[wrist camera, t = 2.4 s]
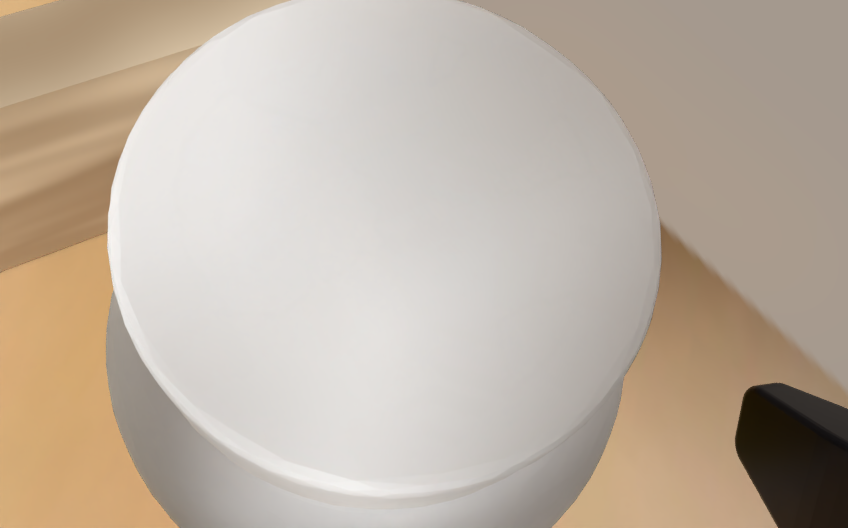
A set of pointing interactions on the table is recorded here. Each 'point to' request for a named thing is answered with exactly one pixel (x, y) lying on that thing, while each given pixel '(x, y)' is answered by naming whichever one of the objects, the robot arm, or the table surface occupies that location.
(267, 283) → the supplement bottle
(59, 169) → the birch backstop wall
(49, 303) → the table surface
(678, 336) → the table surface
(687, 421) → the table surface
